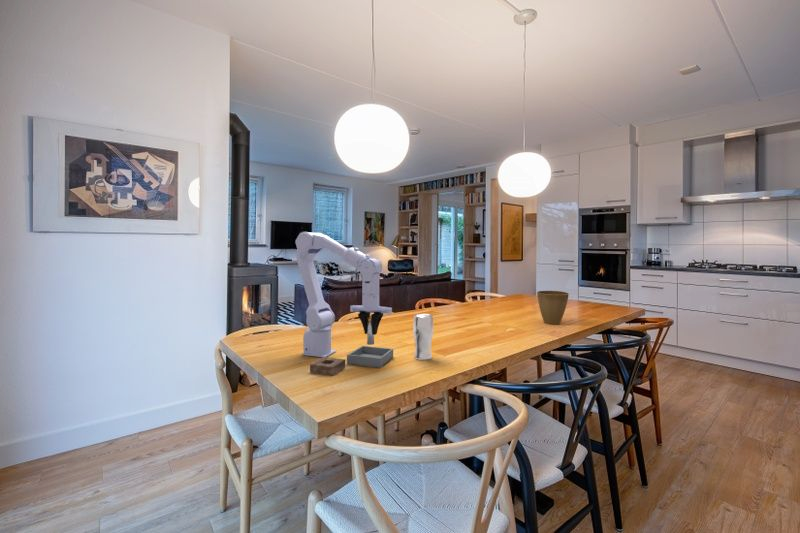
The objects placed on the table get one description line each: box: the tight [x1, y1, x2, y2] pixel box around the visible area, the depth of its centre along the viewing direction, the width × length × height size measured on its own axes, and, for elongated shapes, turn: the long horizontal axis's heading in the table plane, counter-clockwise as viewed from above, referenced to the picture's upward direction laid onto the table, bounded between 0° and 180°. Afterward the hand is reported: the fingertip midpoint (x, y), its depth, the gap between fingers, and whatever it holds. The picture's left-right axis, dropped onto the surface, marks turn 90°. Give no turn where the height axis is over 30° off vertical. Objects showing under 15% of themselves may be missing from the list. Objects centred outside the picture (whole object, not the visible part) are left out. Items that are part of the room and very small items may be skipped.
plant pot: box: [536, 290, 570, 326], centre depth 184 cm, size 15×15×16 cm
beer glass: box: [412, 313, 434, 361], centre depth 126 cm, size 7×7×15 cm
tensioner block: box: [309, 356, 346, 376], centre depth 114 cm, size 8×8×2 cm
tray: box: [346, 345, 394, 369], centre depth 123 cm, size 12×12×3 cm
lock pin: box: [366, 316, 375, 346], centre depth 122 cm, size 2×2×9 cm
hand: (370, 333), depth 123 cm, fingers closed on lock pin, 2 cm apart
